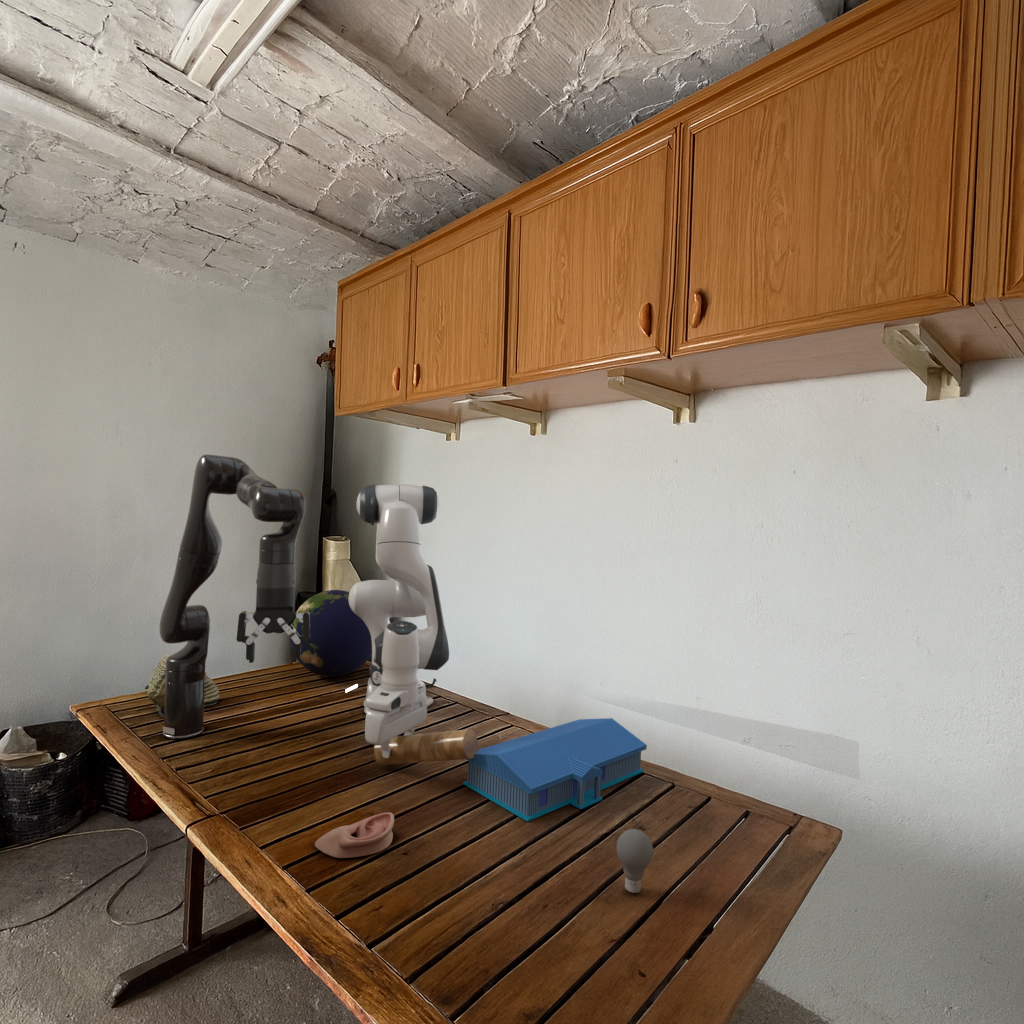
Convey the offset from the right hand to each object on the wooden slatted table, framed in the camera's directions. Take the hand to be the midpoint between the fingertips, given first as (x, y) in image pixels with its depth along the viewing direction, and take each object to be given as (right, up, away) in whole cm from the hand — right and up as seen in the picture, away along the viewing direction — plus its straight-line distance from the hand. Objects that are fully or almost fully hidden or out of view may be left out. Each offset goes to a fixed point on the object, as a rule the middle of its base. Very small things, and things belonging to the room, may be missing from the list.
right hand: (396, 751), depth 148 cm
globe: (-36, -2, +74) cm, 82 cm away
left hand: (-23, +25, -16) cm, 37 cm away
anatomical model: (-2, -5, -32) cm, 32 cm away
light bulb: (+47, -7, -43) cm, 64 cm away
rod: (+8, -1, -4) cm, 9 cm away
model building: (+38, -6, -2) cm, 39 cm away
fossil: (-69, -1, +37) cm, 78 cm away
